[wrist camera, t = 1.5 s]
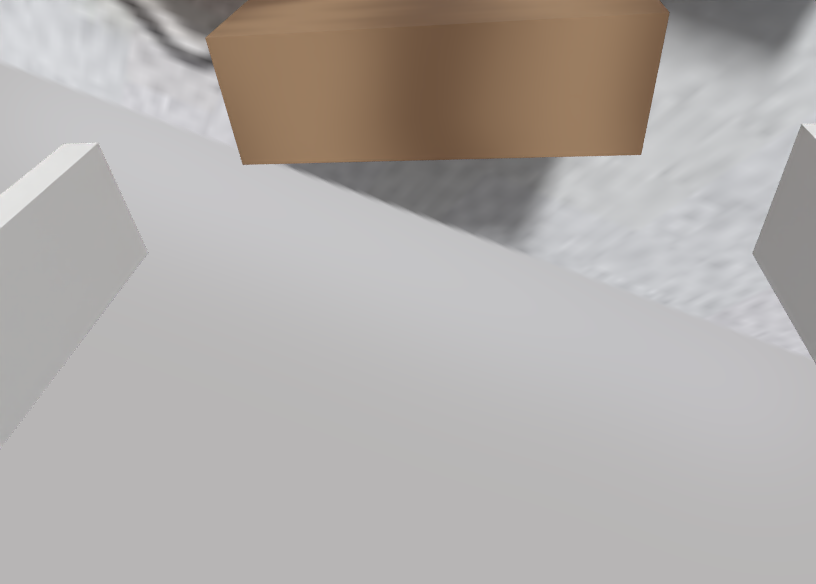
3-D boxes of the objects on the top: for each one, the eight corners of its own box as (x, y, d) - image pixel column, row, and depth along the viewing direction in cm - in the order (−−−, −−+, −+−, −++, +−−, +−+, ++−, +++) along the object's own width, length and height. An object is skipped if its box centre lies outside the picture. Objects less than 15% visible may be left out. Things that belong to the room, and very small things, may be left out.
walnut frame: (307, 69, 23) (244, 169, 17) (287, -35, 20) (205, 37, 14) (596, 56, 21) (640, 159, 15) (610, -58, 19) (669, 12, 13)
